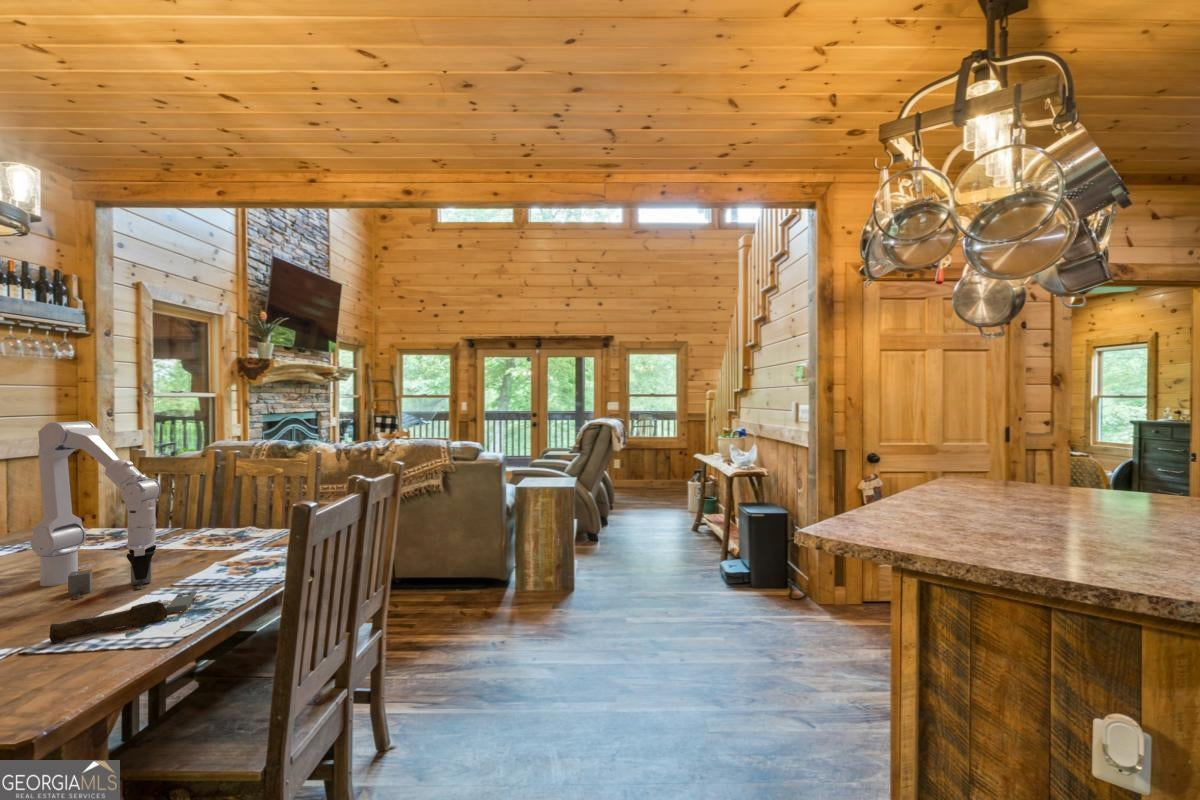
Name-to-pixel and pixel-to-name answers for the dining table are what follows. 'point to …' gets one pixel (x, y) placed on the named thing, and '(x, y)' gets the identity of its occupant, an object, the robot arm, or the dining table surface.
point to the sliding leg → (140, 582)
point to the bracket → (181, 602)
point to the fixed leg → (79, 583)
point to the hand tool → (109, 621)
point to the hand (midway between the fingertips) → (141, 576)
